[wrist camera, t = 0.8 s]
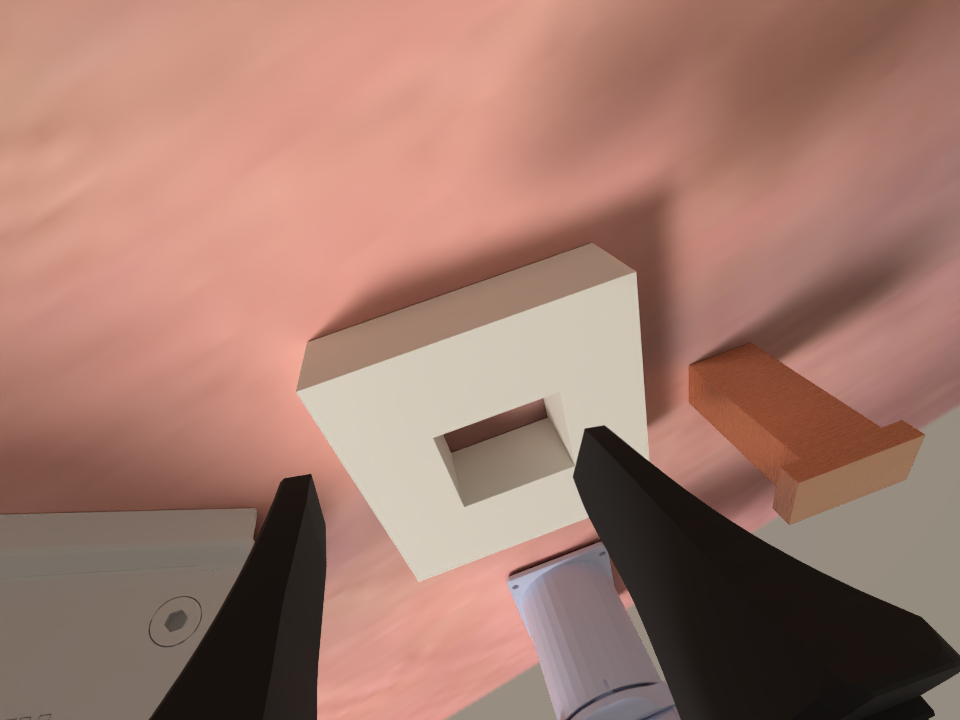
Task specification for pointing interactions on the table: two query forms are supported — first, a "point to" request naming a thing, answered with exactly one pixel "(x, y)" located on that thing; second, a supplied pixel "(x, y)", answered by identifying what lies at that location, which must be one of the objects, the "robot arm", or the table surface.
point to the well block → (482, 403)
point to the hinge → (109, 606)
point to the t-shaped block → (799, 432)
